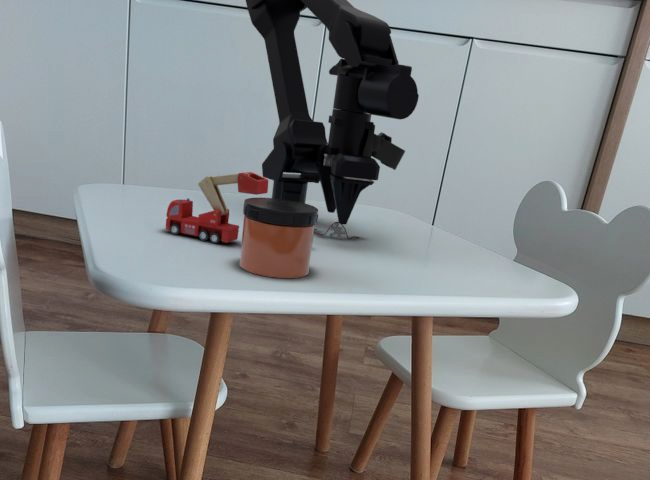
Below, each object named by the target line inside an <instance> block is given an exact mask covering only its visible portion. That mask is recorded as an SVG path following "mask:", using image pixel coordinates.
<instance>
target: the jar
mask: <svg viewBox="0 0 650 480" xmlns="http://www.w3.org/2000/svg"><path fill="white" fill-rule="evenodd" d="M242 225H243V226H242V236H241V243H240V254H239V255H240V256H239V266H240V268H241V269H242V270H244V271H246V272H248V273H251V274H255V275H258V276H263V277H269V278H275V279H276V278H277V279H298V278H303V277H306V276H308V274H310V273H309V271H310V265H311V258H312V257H311V256H312V249H313V242H314V236H315V233H314V232H315V230H314V229H316V224H313V225H308V226H291V225H280V224H273V223H267V222H263V221H258V220H255V219H252V218H249V217H247V216H245V215H244V214H243V224H242Z"/></svg>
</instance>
